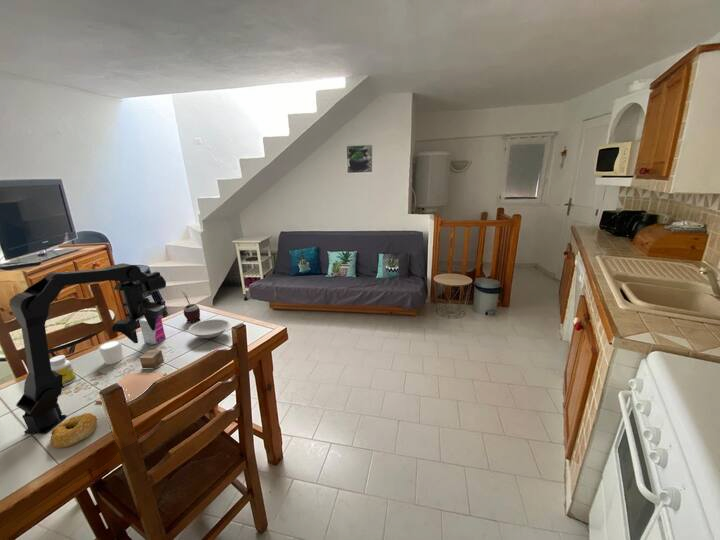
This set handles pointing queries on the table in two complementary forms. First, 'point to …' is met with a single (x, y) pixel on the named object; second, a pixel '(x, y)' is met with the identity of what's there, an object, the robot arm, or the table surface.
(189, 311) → the mate gourd
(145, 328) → the supplement box
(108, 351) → the white cup
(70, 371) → the supplement bottle
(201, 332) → the dish
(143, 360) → the walnut cube
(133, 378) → the tile mat
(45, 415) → the robot arm
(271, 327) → the table surface
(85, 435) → the bagel
